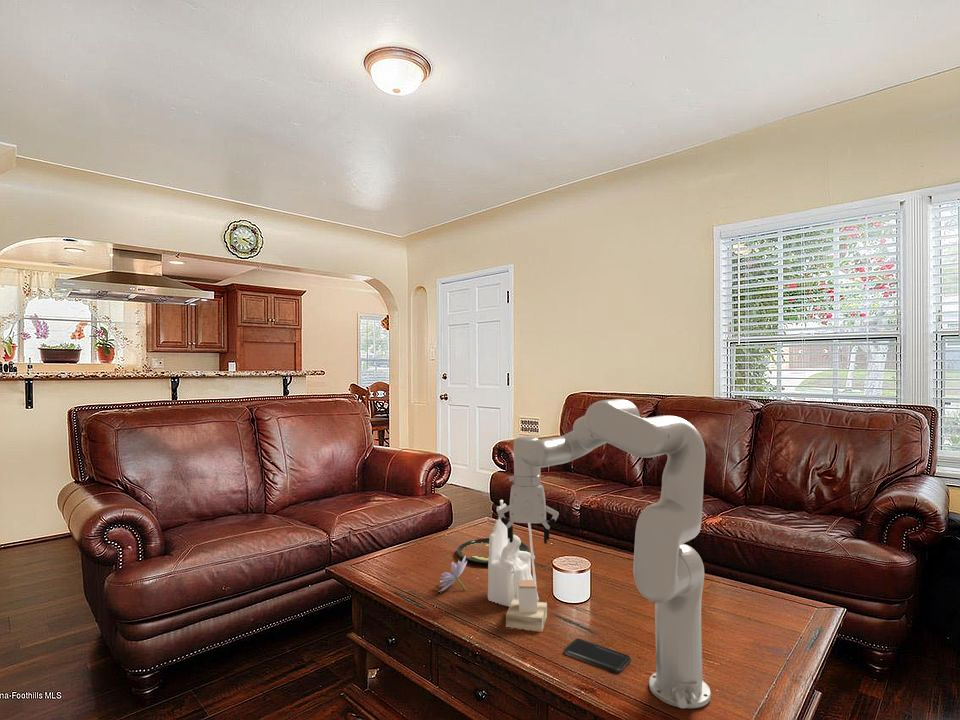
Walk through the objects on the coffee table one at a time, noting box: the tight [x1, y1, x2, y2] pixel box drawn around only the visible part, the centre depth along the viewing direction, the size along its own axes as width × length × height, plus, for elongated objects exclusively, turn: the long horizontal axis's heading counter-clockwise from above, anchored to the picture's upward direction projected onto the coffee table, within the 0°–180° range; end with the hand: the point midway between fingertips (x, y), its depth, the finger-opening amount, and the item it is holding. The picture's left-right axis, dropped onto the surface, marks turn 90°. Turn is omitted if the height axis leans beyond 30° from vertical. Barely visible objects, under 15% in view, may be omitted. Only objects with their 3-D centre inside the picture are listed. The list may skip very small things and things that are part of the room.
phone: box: [563, 638, 632, 674], centre depth 129 cm, size 8×1×15 cm
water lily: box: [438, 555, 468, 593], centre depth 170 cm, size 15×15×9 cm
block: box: [505, 599, 548, 633], centre depth 148 cm, size 10×10×4 cm
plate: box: [456, 537, 531, 565], centre depth 202 cm, size 28×28×2 cm
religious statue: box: [487, 499, 540, 608], centre depth 163 cm, size 17×14×30 cm
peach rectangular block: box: [518, 579, 538, 613], centre depth 148 cm, size 5×5×7 cm
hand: (528, 541), depth 148 cm, fingers open, 9 cm apart
